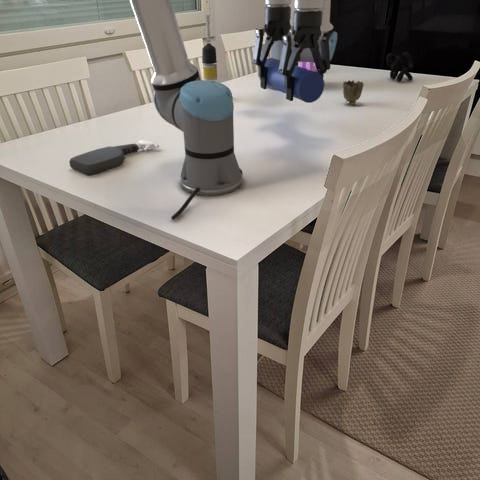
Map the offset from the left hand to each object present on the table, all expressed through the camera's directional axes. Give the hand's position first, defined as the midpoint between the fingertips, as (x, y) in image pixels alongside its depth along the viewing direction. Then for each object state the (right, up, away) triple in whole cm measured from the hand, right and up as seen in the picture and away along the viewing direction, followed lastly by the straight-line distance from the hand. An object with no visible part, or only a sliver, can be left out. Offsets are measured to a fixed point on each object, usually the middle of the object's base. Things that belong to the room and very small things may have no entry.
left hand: (303, 97), depth 129 cm
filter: (-30, +16, +50) cm, 60 cm away
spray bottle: (-53, -19, -4) cm, 56 cm away
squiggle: (+54, +31, +72) cm, 95 cm away
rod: (-3, +3, +6) cm, 8 cm away
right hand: (-7, +8, +12) cm, 16 cm away
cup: (+24, +10, +39) cm, 47 cm away
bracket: (+17, +42, +91) cm, 102 cm away
